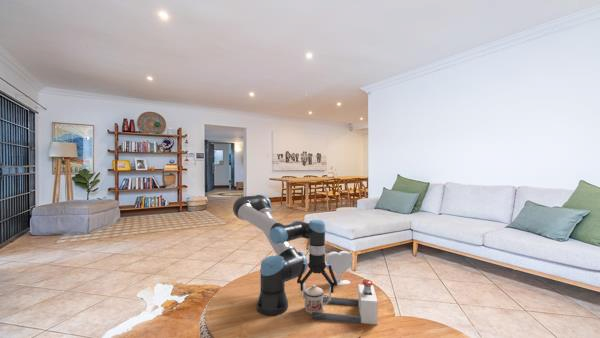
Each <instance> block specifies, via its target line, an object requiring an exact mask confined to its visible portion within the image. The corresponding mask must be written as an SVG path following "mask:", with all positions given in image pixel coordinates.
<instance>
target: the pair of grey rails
mask: <svg viewBox="0 0 600 338" xmlns="http://www.w3.org/2000/svg"><path fill="white" fill-rule="evenodd" d="M327 300H328V297H327V296H323V303H325V302H326V301H327ZM327 304H333V305H334V304H336V305H348V306H359V300H358V298H350V297H349V298H347V297H333V296H331V301H329V302H328V303H327ZM311 320H320V321H321V320H322V321H332V322H341V323H342V322H343V323H352V324H353V323H354V324H356V323H357V324H362V323H361V316H360V315H352V314H342V313H341V314H339V313H329V312H328V313H327V312H321V313H318V312H312V314H311Z"/></svg>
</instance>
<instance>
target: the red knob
mask: <svg viewBox="0 0 600 338" xmlns="http://www.w3.org/2000/svg"><path fill="white" fill-rule="evenodd" d="M362 285H364V295H371V285H373V281H372V280H370V279H363V280H362Z"/></svg>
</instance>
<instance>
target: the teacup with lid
mask: <svg viewBox="0 0 600 338" xmlns="http://www.w3.org/2000/svg"><path fill="white" fill-rule="evenodd" d="M304 293H305V298H304V311H305V312H306V313H308V314H310V315H312V312H318V313H323V311H324V306H325V305H327V304H329V303H328V302H329V294H327V293H324V290H323V288H321V287H319V286H316V284H312V285H311V286H308V287H305V292H304ZM323 297H328V300H327V301H326V302H325V303H323Z"/></svg>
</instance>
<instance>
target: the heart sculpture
mask: <svg viewBox="0 0 600 338" xmlns="http://www.w3.org/2000/svg"><path fill="white" fill-rule="evenodd" d="M353 260H354V257H353V254H351V253H350V252H349V251H347V250H341V251H339V252H337V251H330V252H328V253H327V254H325V264H331V265H332V270H333V273H336V274H337V277H336V280H337V286H338V285H350V284H351V281H350V280H348V279H344V280H342V274H344V273H346V272H347V271H348V269H350V268H351V266H352V264H353ZM332 282H333V280H332ZM327 284H328V285H329V283H328V282H327Z"/></svg>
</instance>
